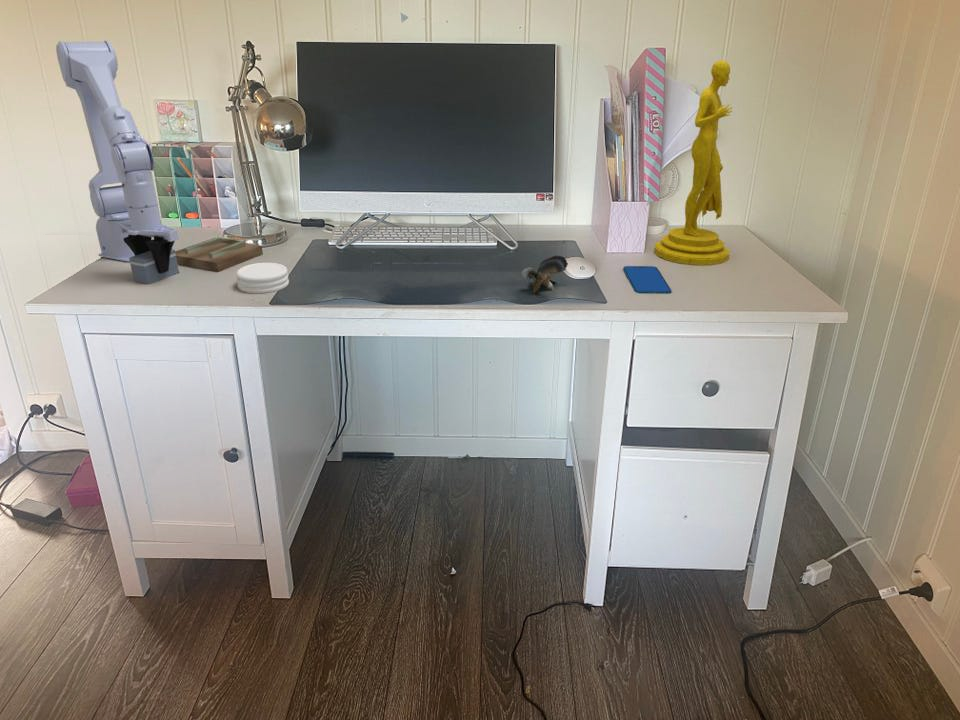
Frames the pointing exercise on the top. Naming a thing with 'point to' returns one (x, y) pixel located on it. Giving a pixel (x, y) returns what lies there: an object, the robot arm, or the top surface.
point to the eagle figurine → (545, 271)
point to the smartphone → (646, 279)
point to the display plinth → (217, 254)
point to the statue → (702, 185)
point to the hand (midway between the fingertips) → (155, 270)
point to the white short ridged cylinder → (262, 277)
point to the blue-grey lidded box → (151, 268)
